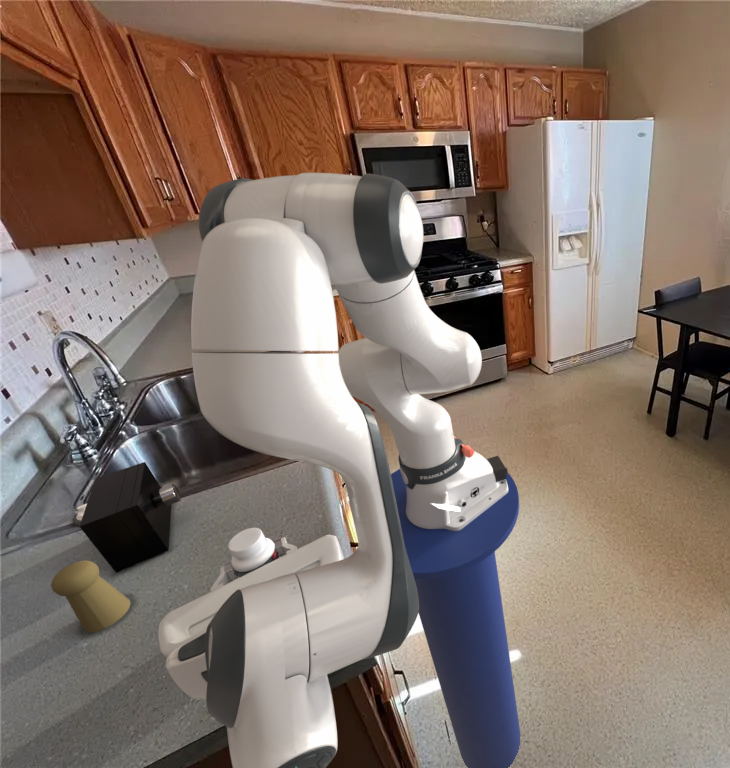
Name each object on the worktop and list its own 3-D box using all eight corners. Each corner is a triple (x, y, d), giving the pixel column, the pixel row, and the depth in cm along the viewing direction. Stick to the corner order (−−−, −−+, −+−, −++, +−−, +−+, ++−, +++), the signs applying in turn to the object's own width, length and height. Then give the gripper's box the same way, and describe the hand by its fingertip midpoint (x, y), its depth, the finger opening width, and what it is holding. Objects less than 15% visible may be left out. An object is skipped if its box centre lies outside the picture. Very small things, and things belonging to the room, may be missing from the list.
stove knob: (75, 513, 92) (67, 504, 90) (117, 496, 96) (110, 487, 94) (73, 531, 87) (65, 521, 85) (118, 512, 91) (111, 502, 89)
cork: (96, 604, 71) (57, 561, 65) (137, 592, 72) (103, 549, 67) (75, 638, 65) (32, 593, 60) (120, 624, 67) (81, 580, 62)
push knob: (181, 493, 87) (173, 480, 85) (181, 504, 84) (172, 489, 82) (150, 505, 84) (141, 491, 82) (149, 516, 81) (139, 502, 80)
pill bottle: (294, 581, 59) (272, 537, 55) (255, 607, 56) (228, 563, 52) (281, 560, 62) (259, 517, 58) (243, 584, 59) (218, 540, 55)
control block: (171, 504, 92) (145, 461, 86) (168, 550, 80) (137, 504, 74) (126, 521, 88) (95, 478, 82) (116, 573, 76) (79, 526, 71)
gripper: (352, 566, 51) (325, 502, 61) (145, 678, 41) (155, 580, 51) (365, 598, 54) (337, 533, 64) (175, 710, 44) (178, 611, 54)
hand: (254, 554), depth 57 cm, fingers closed on pill bottle, 5 cm apart
